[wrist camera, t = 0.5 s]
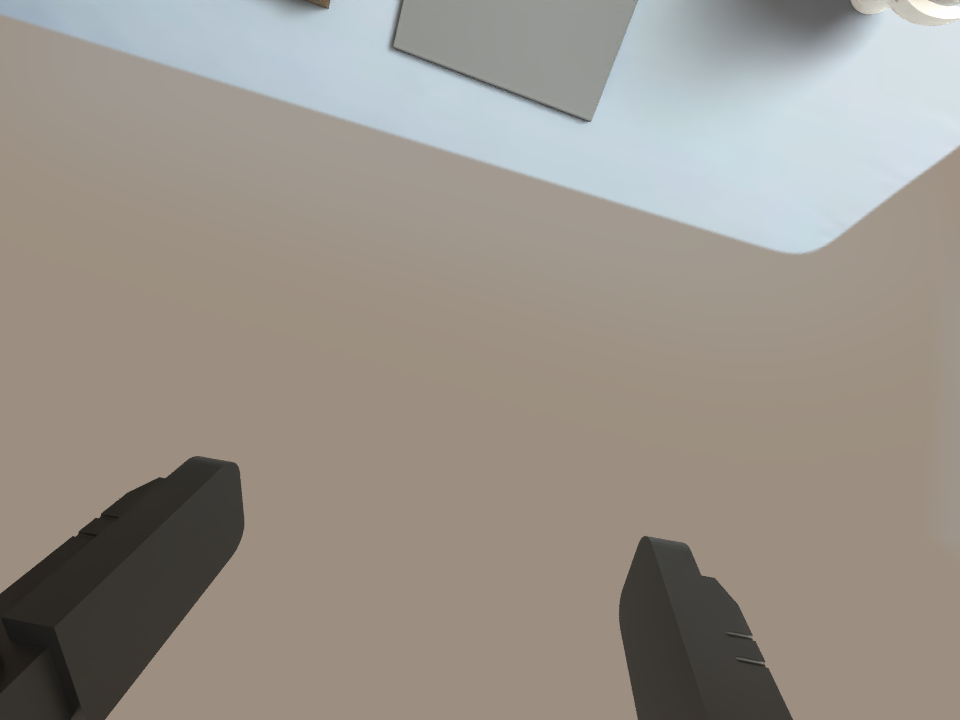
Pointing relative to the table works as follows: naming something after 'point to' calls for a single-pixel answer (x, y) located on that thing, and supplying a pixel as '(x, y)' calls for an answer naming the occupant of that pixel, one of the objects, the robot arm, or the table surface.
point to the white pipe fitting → (914, 10)
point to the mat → (522, 44)
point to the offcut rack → (321, 2)
